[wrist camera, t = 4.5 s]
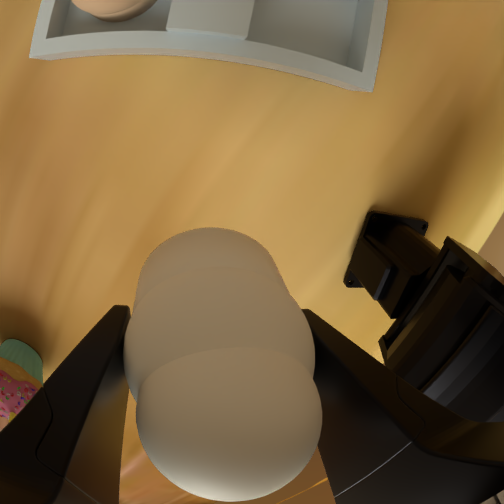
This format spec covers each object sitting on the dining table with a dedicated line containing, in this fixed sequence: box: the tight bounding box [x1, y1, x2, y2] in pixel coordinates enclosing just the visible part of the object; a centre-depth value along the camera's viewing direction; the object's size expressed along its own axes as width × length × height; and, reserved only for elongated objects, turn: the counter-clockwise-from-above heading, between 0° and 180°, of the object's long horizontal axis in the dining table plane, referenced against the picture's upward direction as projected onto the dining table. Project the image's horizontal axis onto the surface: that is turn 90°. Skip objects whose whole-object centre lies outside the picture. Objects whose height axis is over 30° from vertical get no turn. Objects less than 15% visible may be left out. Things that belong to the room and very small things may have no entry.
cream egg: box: [123, 228, 322, 502], centre depth 6 cm, size 5×5×6 cm
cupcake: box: [0, 339, 44, 422], centre depth 16 cm, size 9×8×12 cm
